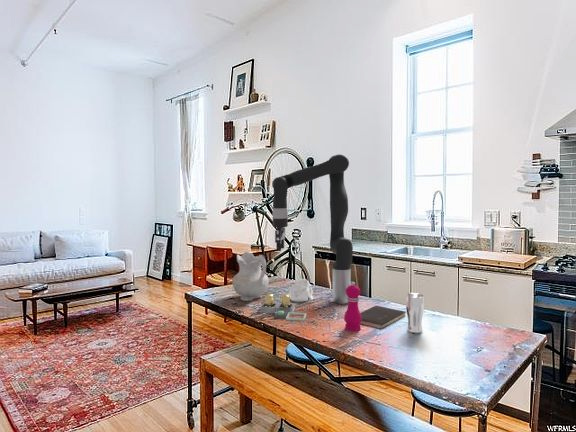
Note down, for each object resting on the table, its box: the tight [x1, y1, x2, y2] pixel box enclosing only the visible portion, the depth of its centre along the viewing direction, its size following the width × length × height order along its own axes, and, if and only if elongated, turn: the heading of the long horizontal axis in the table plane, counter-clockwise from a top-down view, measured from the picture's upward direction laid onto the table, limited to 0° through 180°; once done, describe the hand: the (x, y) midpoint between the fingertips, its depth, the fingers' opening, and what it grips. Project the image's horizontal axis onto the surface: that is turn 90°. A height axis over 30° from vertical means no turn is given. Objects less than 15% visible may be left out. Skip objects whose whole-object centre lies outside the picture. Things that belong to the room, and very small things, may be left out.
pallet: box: [258, 302, 297, 314], centre depth 191 cm, size 16×10×3 cm, turn 81°
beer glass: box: [405, 292, 425, 334], centre depth 164 cm, size 7×7×15 cm
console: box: [273, 312, 288, 320], centre depth 181 cm, size 5×5×2 cm
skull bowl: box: [288, 278, 314, 303], centre depth 210 cm, size 10×14×12 cm
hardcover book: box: [359, 305, 407, 329], centre depth 181 cm, size 16×23×2 cm
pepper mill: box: [343, 281, 362, 332], centre depth 167 cm, size 7×7×20 cm
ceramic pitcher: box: [231, 251, 270, 302], centre depth 214 cm, size 22×20×25 cm
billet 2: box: [280, 293, 291, 308], centre depth 190 cm, size 4×4×7 cm
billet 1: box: [264, 293, 274, 307], centre depth 192 cm, size 4×4×7 cm
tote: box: [285, 312, 307, 322], centre depth 180 cm, size 8×8×2 cm
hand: (280, 249), depth 201 cm, fingers open, 8 cm apart
